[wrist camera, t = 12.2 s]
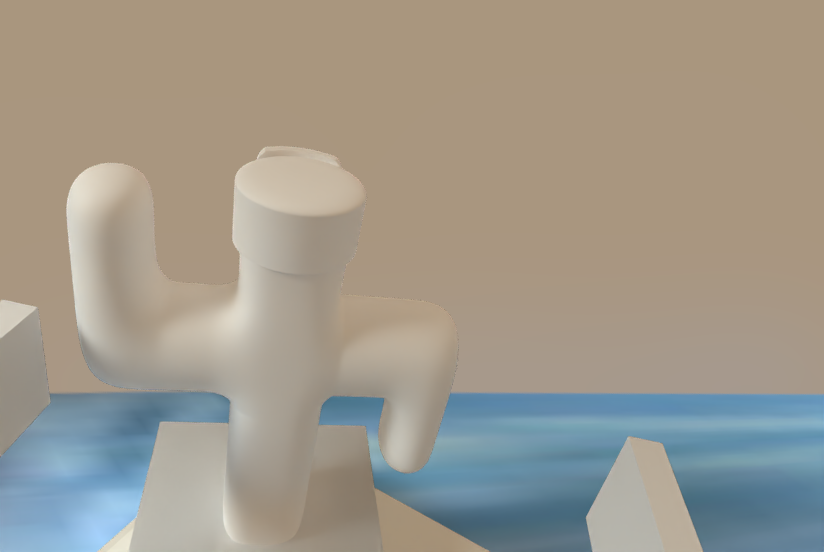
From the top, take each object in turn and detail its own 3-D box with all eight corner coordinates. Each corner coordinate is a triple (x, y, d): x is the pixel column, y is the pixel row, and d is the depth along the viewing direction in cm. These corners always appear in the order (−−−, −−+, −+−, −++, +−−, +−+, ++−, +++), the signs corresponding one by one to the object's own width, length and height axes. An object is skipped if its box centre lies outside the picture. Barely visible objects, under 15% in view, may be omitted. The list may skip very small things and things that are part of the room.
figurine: (405, 682, 19) (562, 273, 11) (70, 712, 16) (-13, 220, 9) (377, 490, 25) (466, 142, 17) (129, 492, 22) (109, 89, 15)
